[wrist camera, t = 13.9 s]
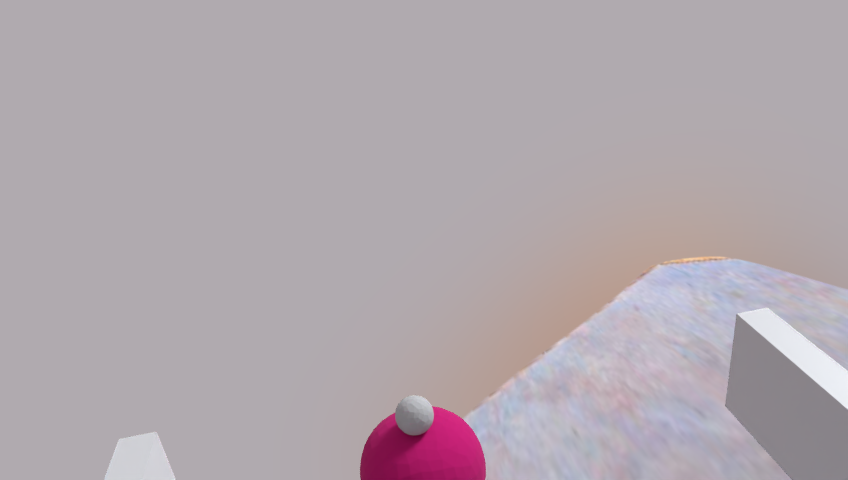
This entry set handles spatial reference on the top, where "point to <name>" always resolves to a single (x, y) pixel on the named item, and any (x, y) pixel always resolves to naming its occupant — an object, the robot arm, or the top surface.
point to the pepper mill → (422, 446)
